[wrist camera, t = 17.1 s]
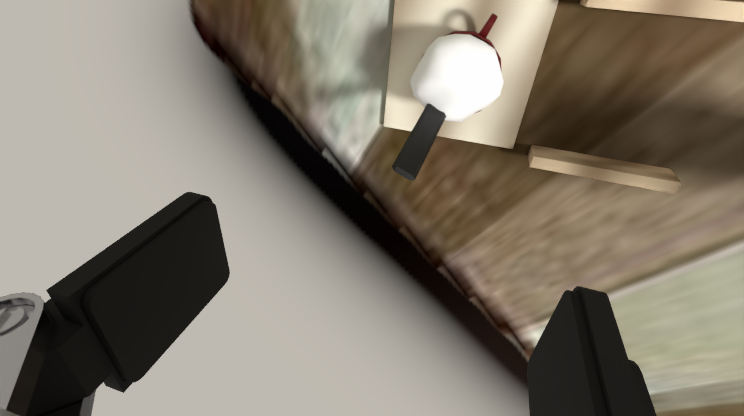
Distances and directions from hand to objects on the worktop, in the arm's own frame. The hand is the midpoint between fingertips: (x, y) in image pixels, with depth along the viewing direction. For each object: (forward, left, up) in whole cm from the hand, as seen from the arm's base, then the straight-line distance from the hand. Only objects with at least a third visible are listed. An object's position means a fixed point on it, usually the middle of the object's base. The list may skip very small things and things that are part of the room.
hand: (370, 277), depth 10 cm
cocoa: (0, 0, -26) cm, 26 cm away
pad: (0, 0, -26) cm, 26 cm away
